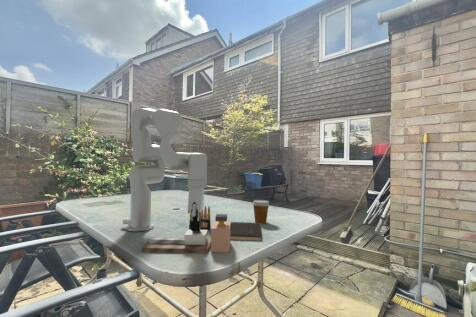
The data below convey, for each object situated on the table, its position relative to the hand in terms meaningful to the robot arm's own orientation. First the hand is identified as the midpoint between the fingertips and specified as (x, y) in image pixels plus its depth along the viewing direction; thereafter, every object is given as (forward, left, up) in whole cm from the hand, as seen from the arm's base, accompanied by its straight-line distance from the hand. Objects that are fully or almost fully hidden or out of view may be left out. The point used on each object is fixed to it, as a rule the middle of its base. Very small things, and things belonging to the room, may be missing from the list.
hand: (196, 228), depth 95 cm
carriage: (0, 0, -5) cm, 5 cm away
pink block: (+10, 0, -7) cm, 12 cm away
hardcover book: (+20, +21, -8) cm, 30 cm away
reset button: (+10, 0, 0) cm, 10 cm away
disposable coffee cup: (+30, +40, -7) cm, 50 cm away
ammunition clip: (-2, +24, -8) cm, 25 cm away
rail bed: (-7, 0, -7) cm, 10 cm away
